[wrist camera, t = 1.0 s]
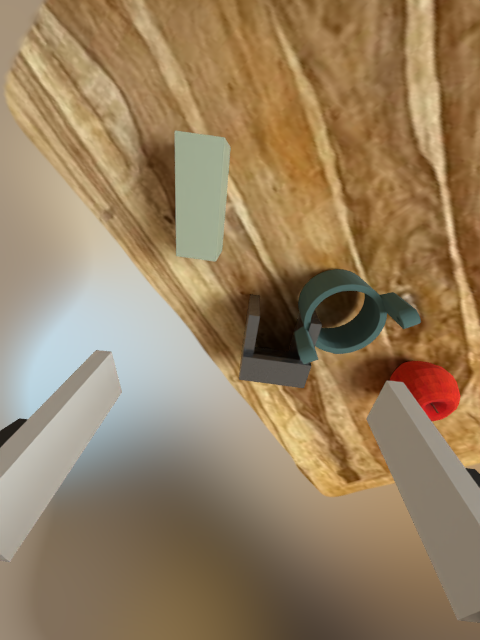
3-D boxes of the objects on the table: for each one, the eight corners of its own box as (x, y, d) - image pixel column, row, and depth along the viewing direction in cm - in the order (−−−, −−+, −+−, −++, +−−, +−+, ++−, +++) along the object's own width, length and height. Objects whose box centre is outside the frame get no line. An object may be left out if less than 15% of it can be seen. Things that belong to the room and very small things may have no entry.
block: (190, 141, 23) (174, 130, 19) (230, 147, 23) (224, 137, 19) (188, 245, 28) (176, 256, 24) (222, 250, 28) (215, 261, 24)
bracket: (285, 319, 31) (293, 363, 23) (321, 254, 27) (345, 281, 19) (345, 342, 32) (371, 391, 24) (389, 283, 28) (439, 320, 20)
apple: (379, 351, 33) (408, 390, 27) (440, 345, 32) (487, 384, 26) (373, 392, 37) (398, 435, 30) (428, 388, 36) (466, 431, 29)
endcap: (250, 294, 30) (248, 318, 24) (311, 302, 30) (324, 328, 24) (241, 351, 35) (238, 383, 29) (294, 358, 35) (302, 392, 29)
